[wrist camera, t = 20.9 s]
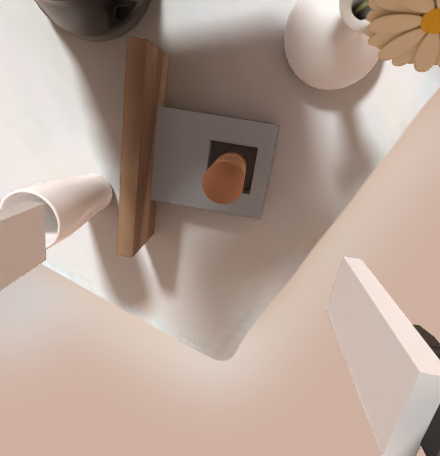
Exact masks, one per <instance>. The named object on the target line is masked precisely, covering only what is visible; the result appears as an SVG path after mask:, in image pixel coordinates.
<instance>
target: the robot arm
mask: <svg viewBox="0 0 440 456" xmlns="http://www.w3.org/2000/svg"><path fill="white" fill-rule="evenodd" d="M35 2H36V3H37V5H38V6H39V7H40V9H41V10H42V11H43V12H44V14H45V15H46V16H47V17H48V18H49V19H50V20H52V21H53V22H54V23H55V24H57V25H58V26H59V27H61V28H62V29H64V30H66V31H68V32H70V33H72V34H74V35H76V36H78V37H81V38H84V39H87V40H93V41H105V40H110V39H114V38H117V37H119V36H121V35H123V34H125V33H126V32H128V31H129V30H130V29H132V28H133V27H134V26H135V25H136V24H137V22H138V21H139V20H140V19H141V17H142V16H143V14H144V13H145V11H146V9H147V7H148V5H149V2H150V0H35ZM45 260H46V238H45V206H44V203H40V202H34V201H29V200H27V201H24V202H22V203H19V204H16V205H13V206H10V207H8V208H5V209H2V210H0V290H2V289H3V288H5V287H6V286H8V285H9V284H11V283H12V282H14V281H15V280H17V279H18V278H20V277H21V276H22V275H24V274H26V273H27V272H29V271H30V270H32V269H33V268H35V267H36V266H38V265H39V264H41V263H42V262H44V261H45ZM326 312H327V314H328V317H329V319H330V322H331V325H332V328H333V330H334V333H335V335H336V338H337V341H338V343H339V346H340V349H341V351H342V354H343V356H344V359H345V362H346V364H347V367H348V369H349V372H350V374H351V377H352V380H353V383H354V385H355V388H356V390H357V393H358V396H359V398H360V401H361V403H362V406H363V409H364V411H365V414H366V416H367V419H368V422H369V424H370V427H371V429H372V432H373V435H374V437H375V440H376V442H377V445H378V448H379V450H380V453H381V456H416V454H417V452H418V450H419V448H420V446H422V448H423V450H424V452H425V454H426V456H440V343H439V342H438V341H437V340H436V339H435V337H434V336H432V335H431V334H430V333H428V332H427V331H426V330H425V329H423V328H422V327H421V326H419V325H413V324H411V322H410V321H409V320H408V319H407V317H406V316H405V315H404V313H403V312H402V311H401V310H400V308H399V307H398V306H397V304H396V303H395V302H394V301H393V300H392V298H391V297H390V295H389V294H388V293H387V292H386V290H385V289H384V288H383V286H382V285H381V284H380V283H379V281H378V280H377V279H376V277H375V276H374V275H373V274H372V272H371V271H370V270H369V268H368V267H367V266H366V265H365V263H364V262H363V261H362V260H361V259H357V258H351V257H346V256H343V258H342V261H341V265H340V268H339V271H338V274H337V278H336V281H335V284H334V288H333V291H332V294H331V298H330V301H329V304H328V307H327V311H326Z"/></svg>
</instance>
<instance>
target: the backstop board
mask: <svg viewBox="0 0 440 456" xmlns="http://www.w3.org/2000/svg"><path fill="white" fill-rule="evenodd" d="M168 63H169V56H168V55H167V54H165V53H164V52H163V51H161V50H160V49H159V48H157V47H156V46H155V45H153V44H152V43H151V42H149V41H148V40H147V39H140V38H133V37H127V51H126V71H125V92H124V113H123V133H122V154H121V175H120V196H119V216H118V237H117V255H121V256H126V257H133V256H134V255H135V254H136V253H137V252H138V251H139V249H140V248H141V247H142V246H143V245H144V244H145V243H146V241H147V240H148V239H149V238H150V237H151V236H152V235H153V234H154V223H155V211H156V201H153V200H150V197H151V184H152V172H153V160H154V147H155V135H156V123H157V110H158V106H162V107H165V97H166V86H167V74H168Z"/></svg>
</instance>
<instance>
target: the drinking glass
mask: <svg viewBox="0 0 440 456" xmlns="http://www.w3.org/2000/svg"><path fill="white" fill-rule="evenodd" d="M111 199H112V188H111V186H110V184H109V182H108V181H107V180H106V179H105V178H104V177H102V176H100V175H98V174H86V175H83V176H78V177H72V178H65V179H59V180H52V181H46V182H41V183H37V184H33V185H30V186H26V187H24V188H21V189H18V190H16V191H13V192H11V193H9V194H8V195H7V196H6V197H5V198H4V199H3V201H2V203H1V205H0V210H2V209H5V208H8V207H10V206H13V205H16V204H19V203H22V202H24V201H27V200H29V201H34V202H40V203H44V206H45V238H46V249H48V248H50V247H52V246H53V245H55V244H57V243H59V242H61V241H62V240H64V239H66V238H67V237H69V236H70V235H72V234H73V233H74V232H75V231H77V230H78V229H79V228H80V227H81V226H83V225H84V224H85V223H86V222H87V221H89V220H90V219H91V218H92V217H93V216H94V215H96V214H97V213H98V212H99V211H101V210H102V209H104V208H105V207H107V206H108V205H109V203H110V202H111Z"/></svg>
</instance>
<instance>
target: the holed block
mask: <svg viewBox="0 0 440 456" xmlns="http://www.w3.org/2000/svg"><path fill="white" fill-rule="evenodd" d="M278 130H279V125H275V124H269V123H263V122H256V121H250V120H244V119H238V118H231V117H225V116H219V115H213V114H206V113H200V112H194V111H188V110H181V109H175V108H169V107H162V106H158V110H157V123H156V135H155V147H154V160H153V172H152V184H151V197H150V200H153V201H159V202H164V203H170V204H176V205H182V206H188V207H193V208H199V209H205V210H211V211H216V212H222V213H228V214H234V215H240V216H245V217H251V218H257V219H261V214H262V209H263V204H264V199H265V194H266V189H267V184H268V179H269V174H270V169H271V164H272V159H273V154H274V150H275V145H276V140H277V135H278ZM213 141H219V142H226V143H232V144H238V145H244V146H250V147H256V148H257V154H256V159H255V165H254V170H253V175H252V181H251V186H250V190H247V189H243V191H242V193H241V195H240V196H239V197H238V198H237V199H236V200H235V201H233V202H231V203H228V204H218V203H215V202H213V201H211V200H210V199H209V198H208V197H207V196H206V194H205V193H204V190H203V187H202V179H203V176H204V174H205V172H206V170H207V169H208V168H209V167H210V160H211V153H212V145H213Z"/></svg>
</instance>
